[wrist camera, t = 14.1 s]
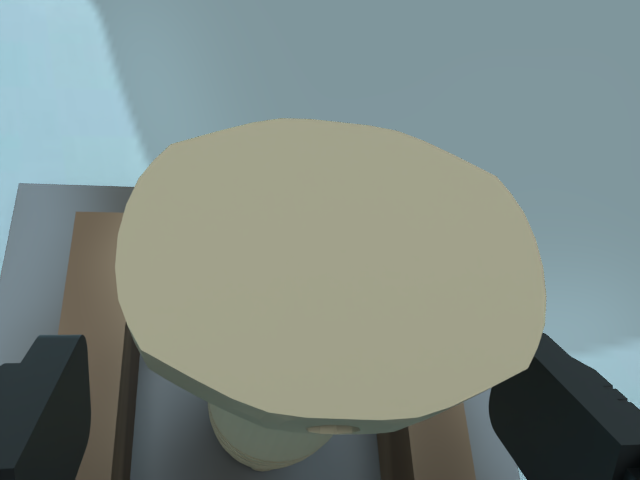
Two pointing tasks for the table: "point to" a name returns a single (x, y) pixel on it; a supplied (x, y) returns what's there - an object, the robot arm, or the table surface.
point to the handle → (325, 282)
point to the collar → (164, 396)
